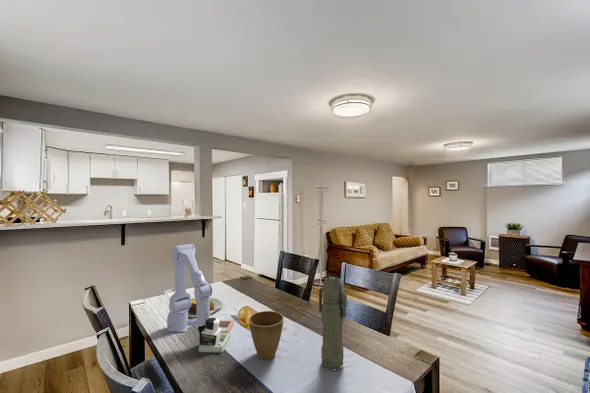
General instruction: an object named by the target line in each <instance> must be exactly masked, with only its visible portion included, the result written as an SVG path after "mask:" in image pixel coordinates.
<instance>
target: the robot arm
mask: <svg viewBox="0 0 590 393" xmlns="http://www.w3.org/2000/svg"><path fill="white" fill-rule="evenodd" d="M195 256H196V246H195V245H194V244H193V243H189V244H180V245H179V244H178V245H174V246H173V248H172V249H171V261H172V262H174V279H175V281H174V282H175V287H174V288H175V289H174V290H175V293H173V294H172V295H171V296H170V297H169V304H168V310H169V312H168V314H167V318H166V319H167V320H166V322H167V324H166V326H167V328H166V332H169V333H171V332H173V333H174V332H175V333H184V332H186V331H188V329H189V328H190V326H197V330H198V332H199V334H198V335H199V339H198V340H199V342H200V338H201V333H202V331H203V330H204V329H205V325H206V320H207V319H209V318H211V316H210V315H211V314H210V298H211V296H212V294H213V288H212V284H210V283H209V282H208V281H207V280H206V277H205V276H204V274H203V271H202V270H200V269H199V266H198V263H197V260H196V257H195ZM186 266H187V268H188V270H189V273H190V276H189V278H190V281H191V283H192V286H193V288H194V291H193V294H194V298H195V301H196V303H197V316H196V319H195V318H194V319H189V316H188V310H189V308H190V307H191V305H192V301H191V299H192V298H191V294H190V293H189V292H187V289H186V288H187V286H186V284H187V283H186Z"/></svg>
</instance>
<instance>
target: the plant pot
mask: <svg viewBox="0 0 590 393" xmlns="http://www.w3.org/2000/svg"><path fill="white" fill-rule="evenodd" d="M284 319H285V318H284V314H282V313H280V312H278V311H272V310H264V311H263V310H262V311H258V312H255V313H253V314H252V315H250V317H249V318H248V323H249V329H250V330H249V331H250V335H251V339H252V343H253V346H254V349H255V352H256V354H257V356H258V358H259V359H262V360H271V359H272V358H274V357H275V356H276V354H277V350H278V348H279V346H280V345H279V344H280V341H281V337H282V333H283V332H282V331H283V327H284V326H283V325H284Z"/></svg>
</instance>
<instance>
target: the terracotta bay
mask: <svg viewBox="0 0 590 393" xmlns="http://www.w3.org/2000/svg"><path fill="white" fill-rule="evenodd" d="M219 321H220V322H219V327H226V329H225V330H224V329H221V333H231V330H232V329H233V328H234V323H235V322H234V320H231V319H228V320H226V319H222V320H221V319H219Z"/></svg>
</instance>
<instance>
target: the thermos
mask: <svg viewBox="0 0 590 393" xmlns="http://www.w3.org/2000/svg"><path fill="white" fill-rule="evenodd" d="M342 288H343V286H342V282H341V279H340V277H337V276H331V275H330V276H326V277H325V278H324V281H323V284H322V287H320V288H319V290H318V311H319V313H320V314H321V322H322V345H321V351H320V353H321V356H320V357H321V365H322V366H323V367H324V368H325V367H326V368H325V369H327V368H328V369H327V370H329V369H338V368H340V367H341V366H342V365H343V366H344V346H343V323H344V318H345V317H346V316H347V299H348V297H347V293H346V292H345V291H344V290H342ZM340 369H341V368H340ZM338 370H339V369H338Z"/></svg>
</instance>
